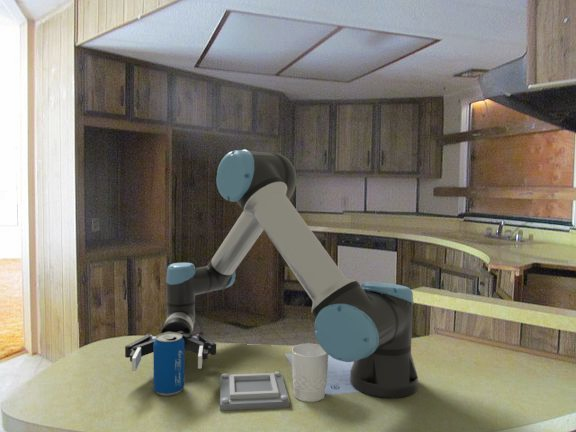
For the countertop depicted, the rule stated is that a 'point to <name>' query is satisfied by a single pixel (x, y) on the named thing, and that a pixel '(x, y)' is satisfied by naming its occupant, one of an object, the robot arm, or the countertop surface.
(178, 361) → the beverage can
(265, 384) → the socket plate
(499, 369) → the countertop surface
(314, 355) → the white cup
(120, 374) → the countertop surface
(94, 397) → the countertop surface
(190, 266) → the robot arm
